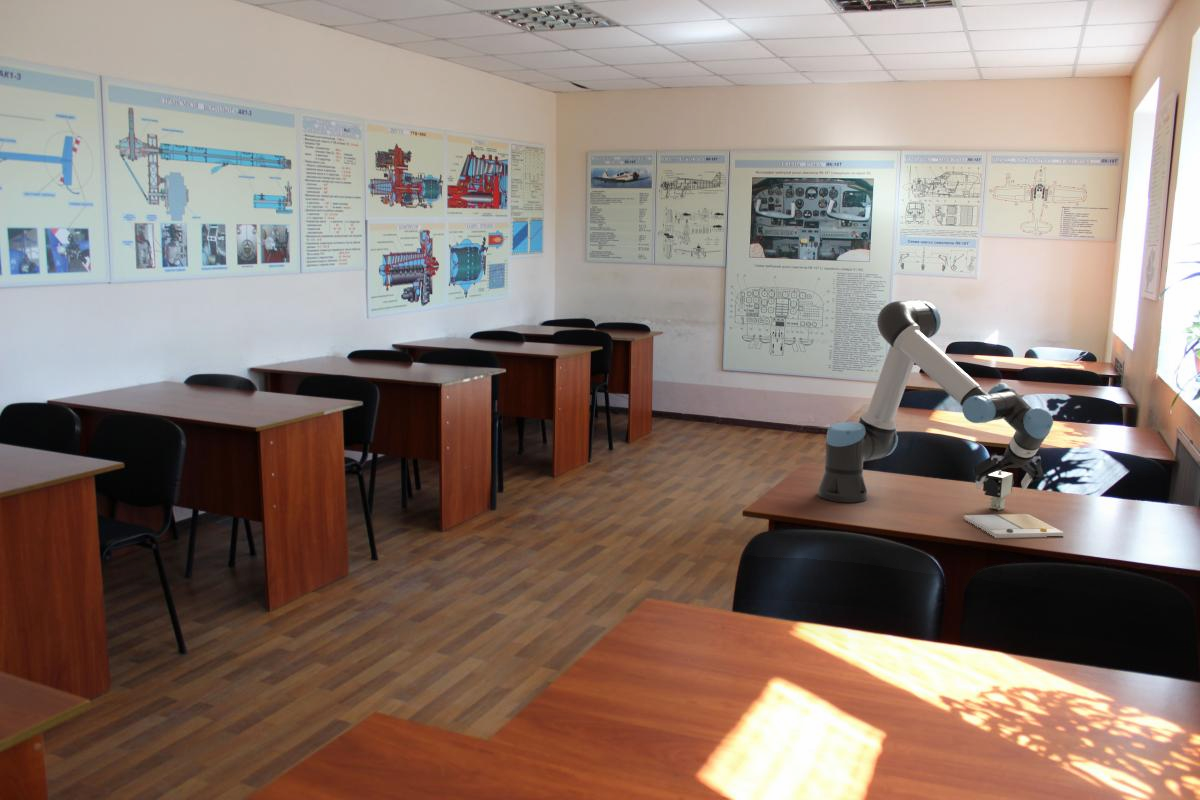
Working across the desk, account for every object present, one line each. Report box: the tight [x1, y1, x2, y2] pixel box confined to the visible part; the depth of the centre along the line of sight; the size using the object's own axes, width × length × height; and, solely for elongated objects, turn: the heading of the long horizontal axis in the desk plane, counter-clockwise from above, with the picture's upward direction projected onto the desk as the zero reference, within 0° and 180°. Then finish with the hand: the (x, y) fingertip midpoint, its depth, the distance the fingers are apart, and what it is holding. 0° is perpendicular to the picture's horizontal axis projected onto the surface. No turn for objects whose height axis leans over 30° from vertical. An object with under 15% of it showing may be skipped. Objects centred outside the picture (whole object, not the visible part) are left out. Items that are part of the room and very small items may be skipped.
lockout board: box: [963, 513, 1065, 539], centre depth 272 cm, size 18×20×2 cm
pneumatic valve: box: [982, 469, 1015, 511], centre depth 292 cm, size 6×12×12 cm, turn 135°
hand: (1000, 485), depth 291 cm, fingers open, 13 cm apart
